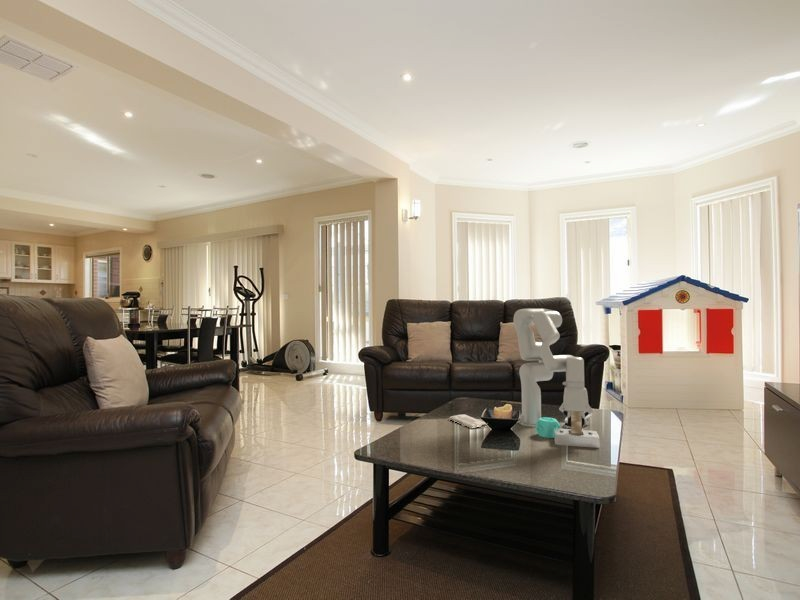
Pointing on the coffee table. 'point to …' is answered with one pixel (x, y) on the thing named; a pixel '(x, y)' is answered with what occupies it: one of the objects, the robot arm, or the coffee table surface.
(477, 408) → the coffee table surface
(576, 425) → the beech peg
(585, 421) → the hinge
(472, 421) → the newspaper
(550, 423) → the decorative dice
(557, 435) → the rail block
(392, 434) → the coffee table surface
